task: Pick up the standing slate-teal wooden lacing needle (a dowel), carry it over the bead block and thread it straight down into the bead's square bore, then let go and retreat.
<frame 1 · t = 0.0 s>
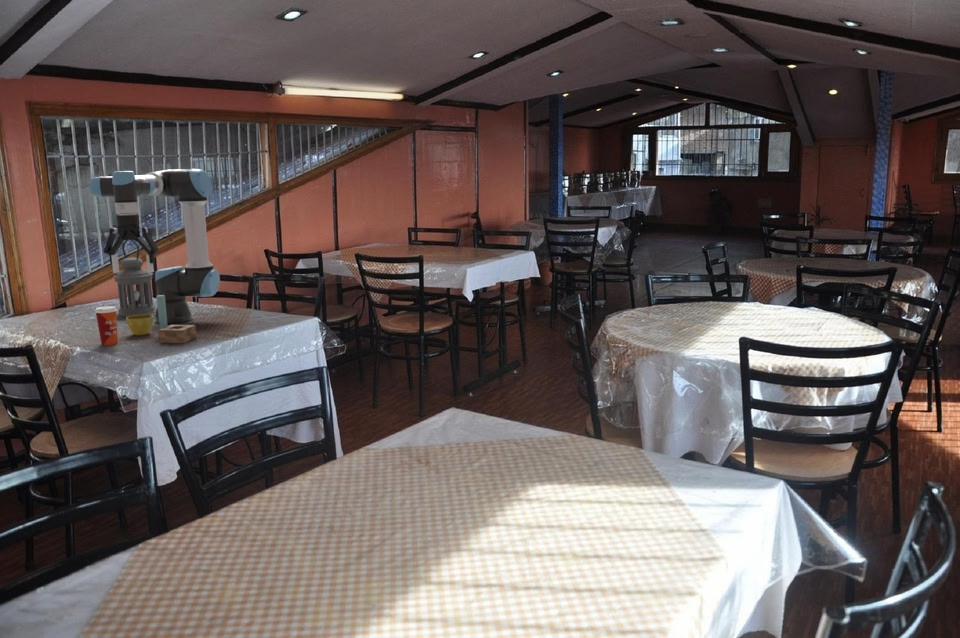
hand: (133, 272, 290), 28 cm above the table, fingers open, 13 cm apart
bead: (178, 340, 306), on the table
needle: (164, 335, 315), on the table
paper cup: (109, 344, 302), on the table
lantern: (137, 313, 365), on the table
flower pot: (141, 334, 318), on the table
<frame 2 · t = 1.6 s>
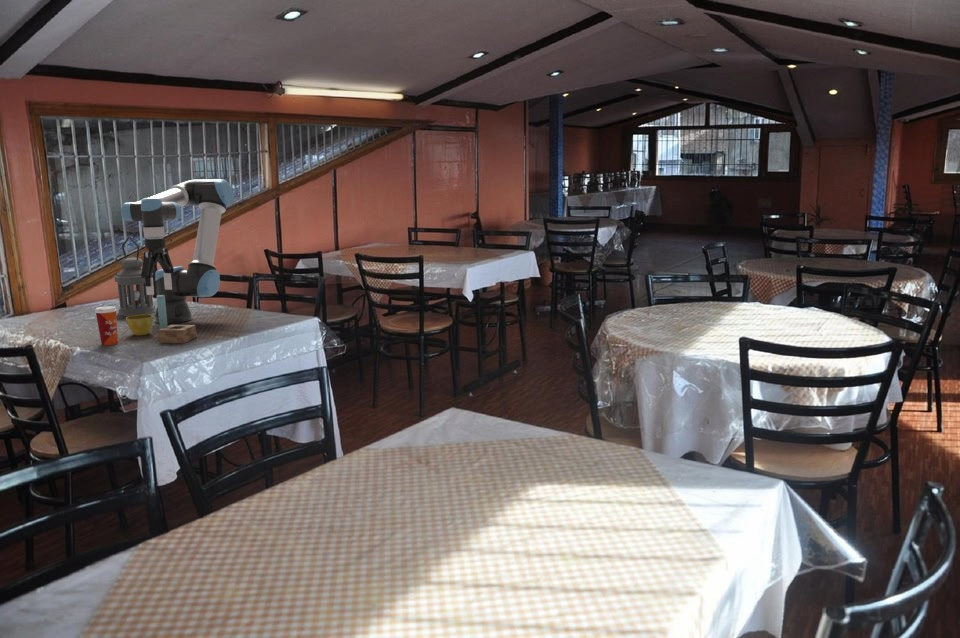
hand: (159, 292, 311), 18 cm above the table, fingers open, 13 cm apart
nothing on the table moved.
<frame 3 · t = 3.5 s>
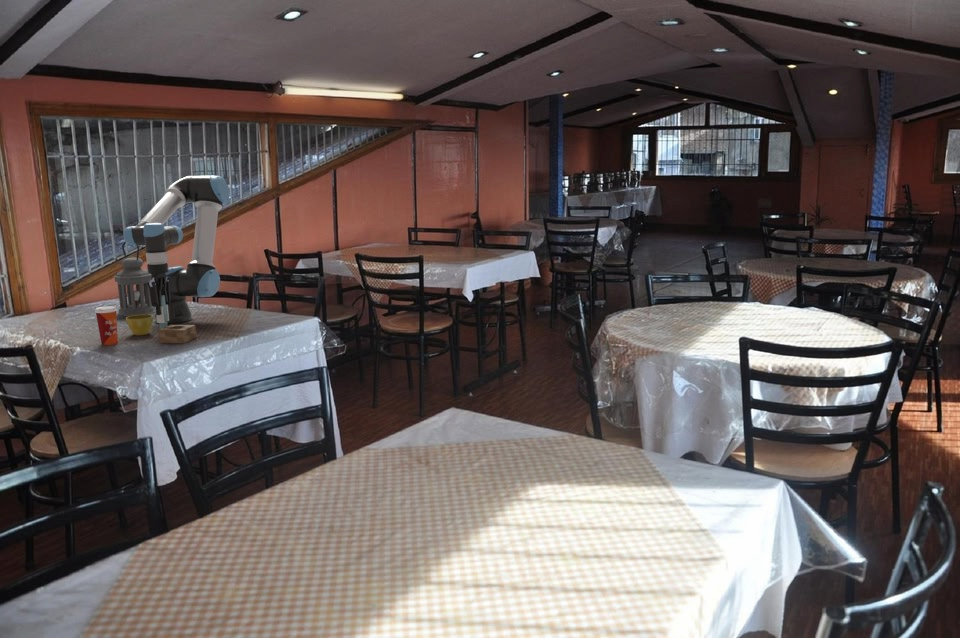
hand: (163, 321, 314), 6 cm above the table, fingers closed on needle, 3 cm apart
needle: (164, 335, 315), on the table, touching gripper
everything else where it was.
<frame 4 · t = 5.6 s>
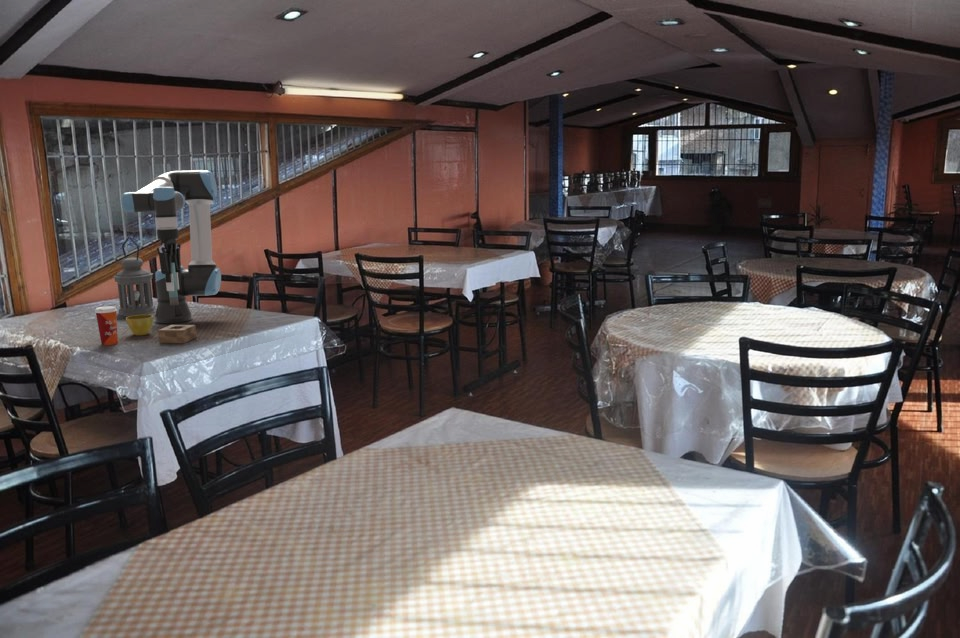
hand: (173, 290, 302), 20 cm above the table, fingers closed on needle, 3 cm apart
needle: (174, 304, 303), point 14 cm above the table, touching gripper
everything else where it was.
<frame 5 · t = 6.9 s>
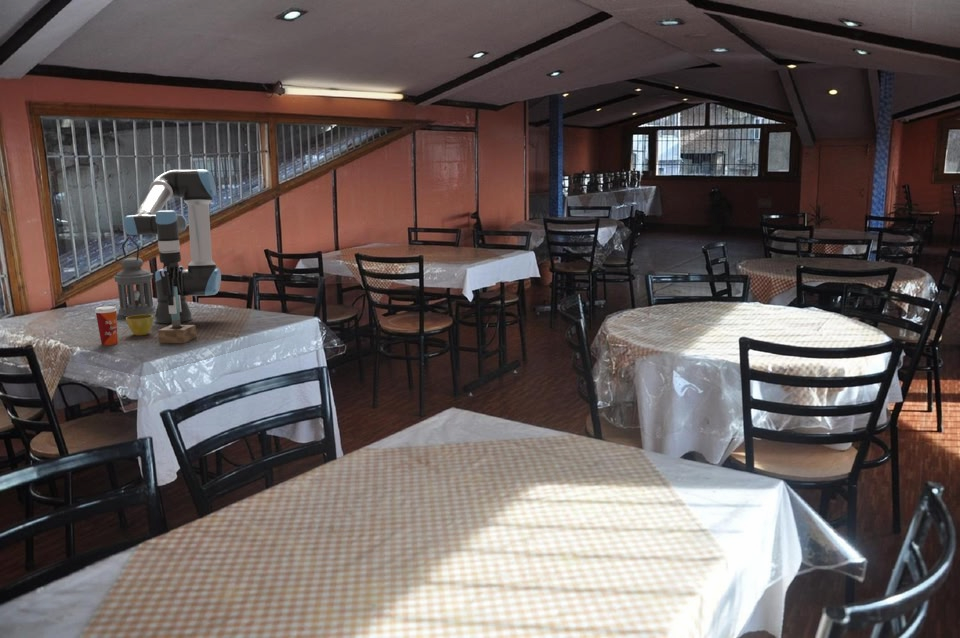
hand: (175, 312, 303), 11 cm above the table, fingers closed on needle, 3 cm apart
needle: (176, 327, 304), point 5 cm above the table, touching gripper
everything else where it was.
when the fingers open (7 cm above the table, at t = 7.8 s): needle drops 1 cm, resting in bead.
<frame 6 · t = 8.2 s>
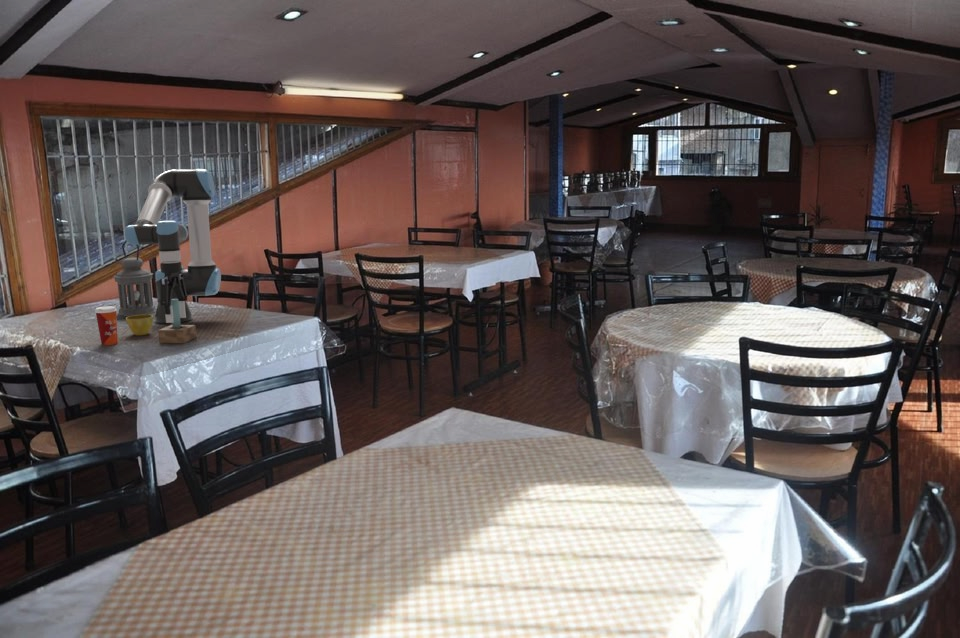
hand: (176, 320, 304), 8 cm above the table, fingers open, 9 cm apart
needle: (178, 340, 306), resting in bead
everything else where it was.
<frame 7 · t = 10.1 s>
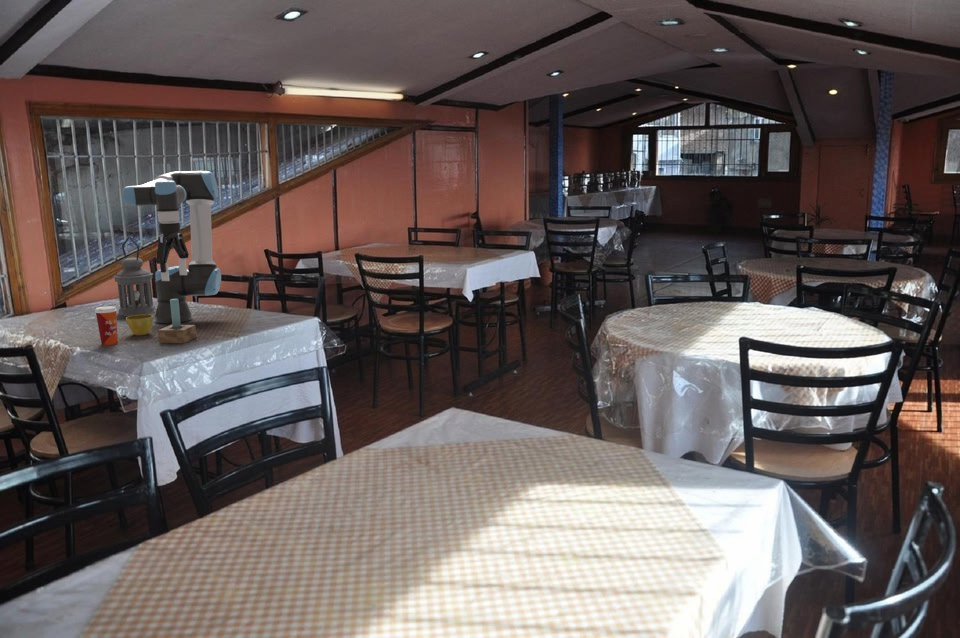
hand: (174, 277, 303), 24 cm above the table, fingers open, 13 cm apart
nothing on the table moved.
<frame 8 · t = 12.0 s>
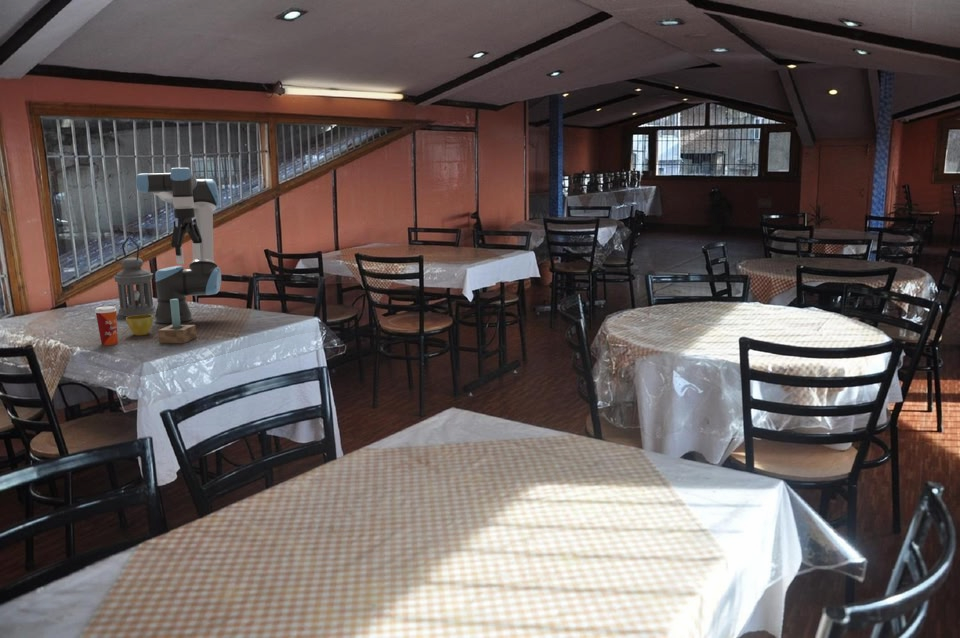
hand: (188, 261, 314), 29 cm above the table, fingers open, 13 cm apart
nothing on the table moved.
at the end: needle 0.0 cm off-centre on the bead, point 0.0 cm above the bead's base; needle tilted 0°; the gripper is holding nothing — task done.
